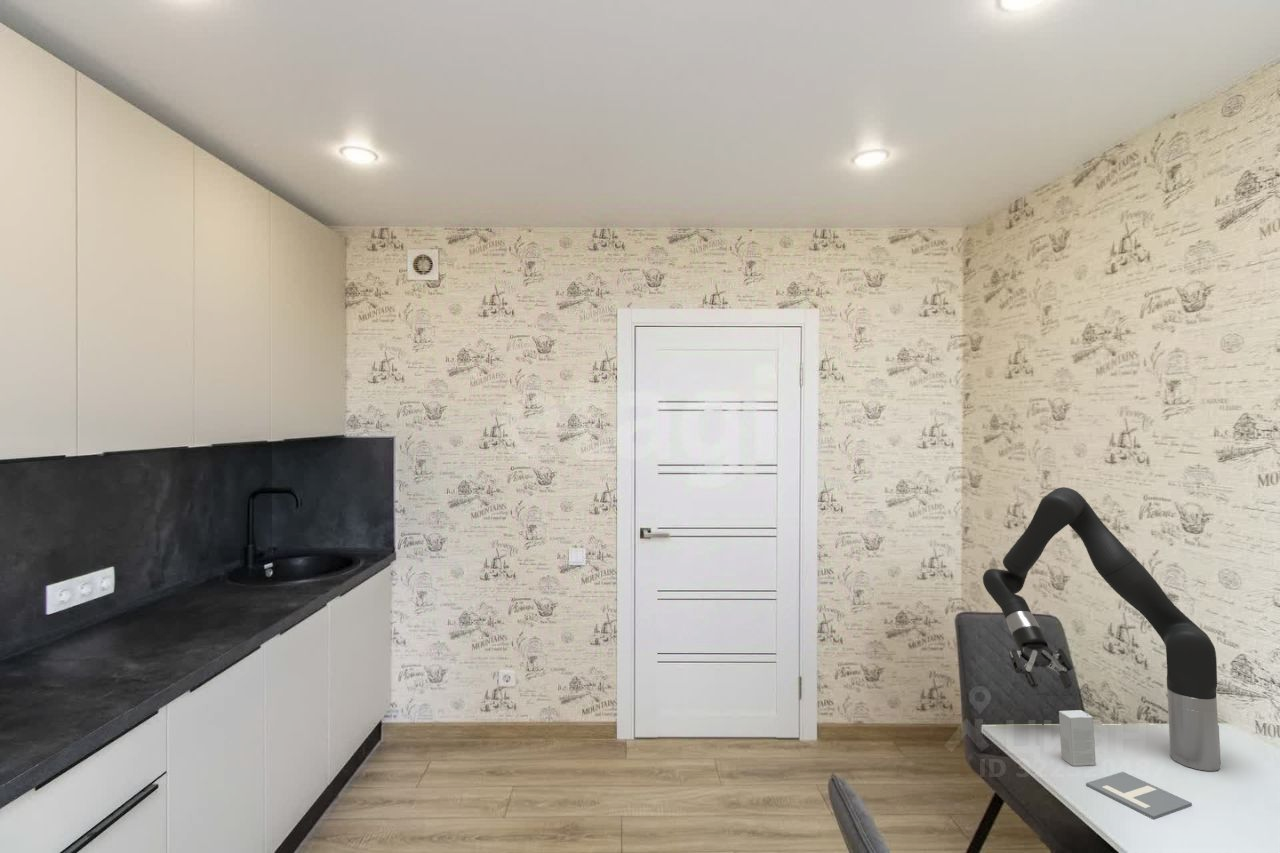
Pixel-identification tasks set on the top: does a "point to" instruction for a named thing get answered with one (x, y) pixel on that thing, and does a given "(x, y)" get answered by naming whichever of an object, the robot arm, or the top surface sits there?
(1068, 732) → the skincare box
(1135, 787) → the letter card
